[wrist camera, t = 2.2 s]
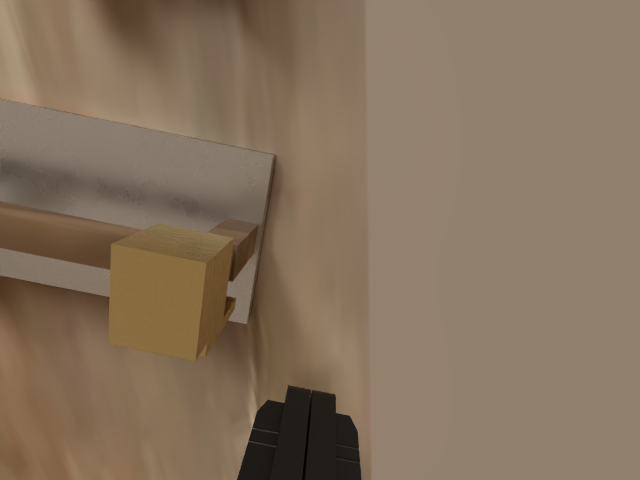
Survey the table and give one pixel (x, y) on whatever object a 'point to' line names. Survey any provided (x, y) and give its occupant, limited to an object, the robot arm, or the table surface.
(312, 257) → the table surface
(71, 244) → the bar
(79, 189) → the bolt plate
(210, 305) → the sliding head
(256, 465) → the robot arm
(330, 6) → the table surface
